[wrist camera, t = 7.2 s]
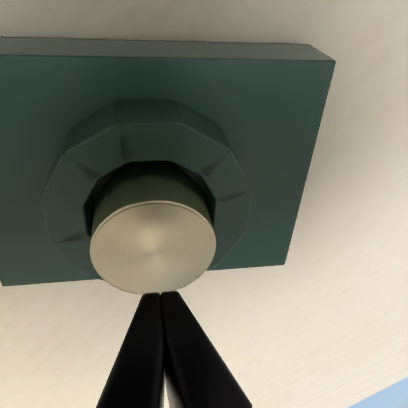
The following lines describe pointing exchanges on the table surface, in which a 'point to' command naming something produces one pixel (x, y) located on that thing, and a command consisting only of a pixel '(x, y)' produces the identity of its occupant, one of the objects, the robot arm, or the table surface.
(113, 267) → the button
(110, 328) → the table surface
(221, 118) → the button box
